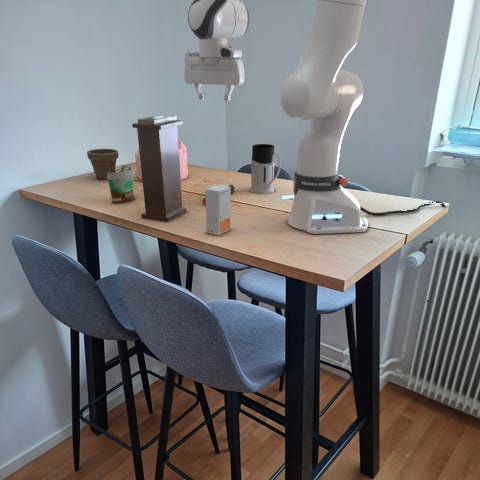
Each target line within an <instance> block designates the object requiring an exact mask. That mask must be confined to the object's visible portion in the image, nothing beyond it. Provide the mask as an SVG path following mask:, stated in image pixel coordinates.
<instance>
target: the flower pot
mask: <svg viewBox="0 0 480 480" xmlns="http://www.w3.org/2000/svg"><path fill="white" fill-rule="evenodd" d="M86 156H87V159H88V160H90V163H91V166H92V170H93V172H94V174H95V177H96V179H98V180H101V181H102V180H103V181H106V180H107V172H109V173H113V172H114V171H115V170H116V167H117V160H118V158H119V150H118V149H113V148H94V149H90V150H87V151H86Z"/></svg>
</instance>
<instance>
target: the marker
mask: <svg viewBox="0 0 480 480" xmlns="http://www.w3.org/2000/svg"><path fill="white" fill-rule="evenodd" d="M228 186H229V187H231V193H232V192H234V191H235V186H234V185H233V184H229V185H228ZM202 204H203V205H204V206H206V196H205V197H204V198H202Z"/></svg>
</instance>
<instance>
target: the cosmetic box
mask: <svg viewBox="0 0 480 480" xmlns="http://www.w3.org/2000/svg"><path fill="white" fill-rule="evenodd" d="M231 193H232V192H231V187H229V185H223V184H217V185H212V186H210V187H208V188H205V197H206V205H205V227H206V229H205V231H206V234H209V235H213V236H221V235H222V234H225V233H227V232H229V231H231V228H232V227H231V222H232V221H231V217H232V216H231V210H232V208H231V205H232V204H231V199H232V194H231Z"/></svg>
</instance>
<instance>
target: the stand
mask: <svg viewBox="0 0 480 480" xmlns="http://www.w3.org/2000/svg"><path fill="white" fill-rule="evenodd" d="M131 125H132V129H136V132H137V140H138V149H139V152H140V162H141V172H142V180H141V182H142V190H143V191H142V192H143V201H144V209H145V211H144V212H143V213H141V219H145V220H152V221H157V222H165V223H169V222H171V221H172V220H174V219H176V218H179V217H180V216H181V215H183V214H185V213H187V209H188V208H187V207H183V198H182V197H183V194H182V180H181V178H180V162H179V145H178V140H179V132H178V126H182V125H184V120H183V119H182V120H179V119H178V116H177V115H169V116H165V117H164V114H158V115H153V116H146V117H142V118H137V122H135V123H132V124H131Z"/></svg>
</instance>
